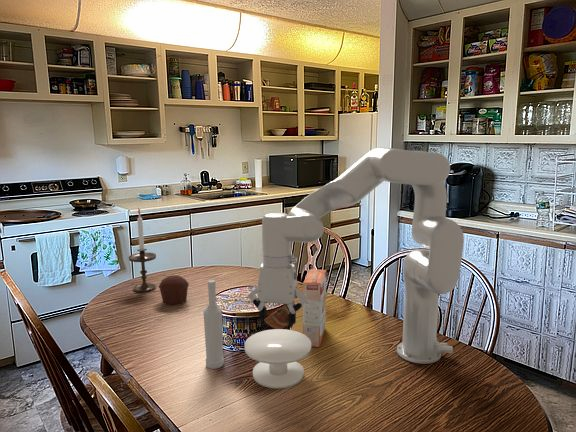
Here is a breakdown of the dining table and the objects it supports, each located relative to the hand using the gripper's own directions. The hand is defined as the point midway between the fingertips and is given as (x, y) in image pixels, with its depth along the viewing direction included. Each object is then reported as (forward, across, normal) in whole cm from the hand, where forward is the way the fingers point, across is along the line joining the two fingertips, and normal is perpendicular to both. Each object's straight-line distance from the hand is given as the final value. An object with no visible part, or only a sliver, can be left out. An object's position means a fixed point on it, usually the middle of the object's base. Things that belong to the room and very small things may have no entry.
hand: (277, 323), depth 120 cm
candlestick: (+15, +72, -53) cm, 91 cm away
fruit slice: (+1, 0, 0) cm, 1 cm away
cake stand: (+15, 0, 0) cm, 15 cm away
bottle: (+15, +19, -1) cm, 24 cm away
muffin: (+15, +53, -43) cm, 70 cm away
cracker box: (+15, -6, -24) cm, 29 cm away
